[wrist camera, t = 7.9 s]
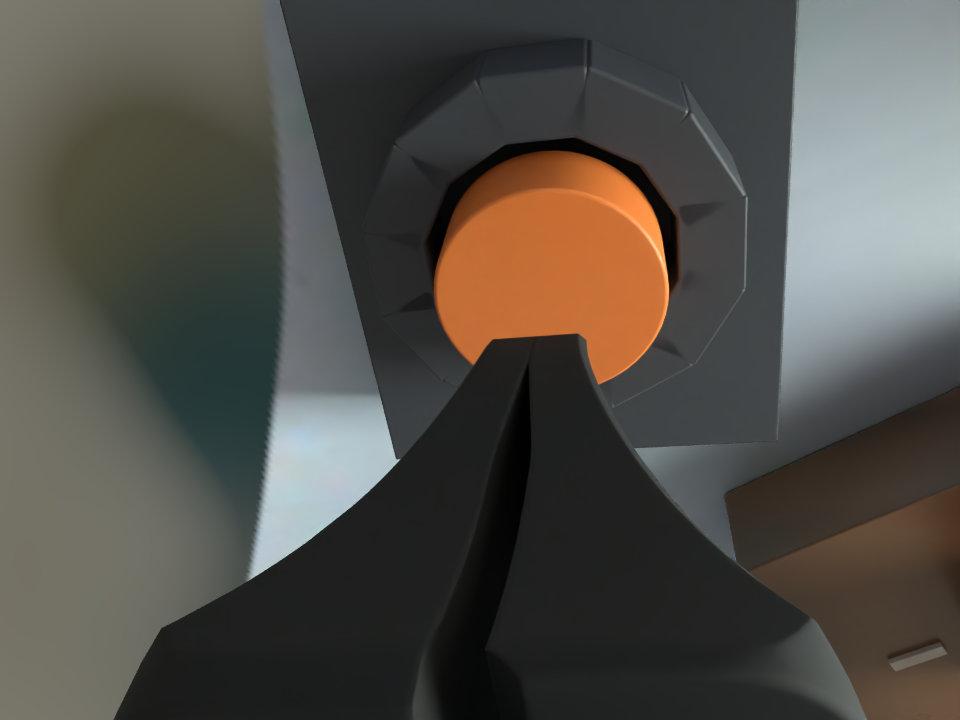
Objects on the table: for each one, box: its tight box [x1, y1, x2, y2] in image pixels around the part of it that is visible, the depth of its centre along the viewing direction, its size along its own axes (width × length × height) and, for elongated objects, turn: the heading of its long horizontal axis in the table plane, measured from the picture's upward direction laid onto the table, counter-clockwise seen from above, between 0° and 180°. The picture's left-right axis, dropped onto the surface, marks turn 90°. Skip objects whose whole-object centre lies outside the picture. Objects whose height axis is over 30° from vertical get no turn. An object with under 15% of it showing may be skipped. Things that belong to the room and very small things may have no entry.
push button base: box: [280, 0, 799, 459], centre depth 18 cm, size 12×9×4 cm
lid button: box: [434, 151, 669, 384], centre depth 16 cm, size 4×4×2 cm
